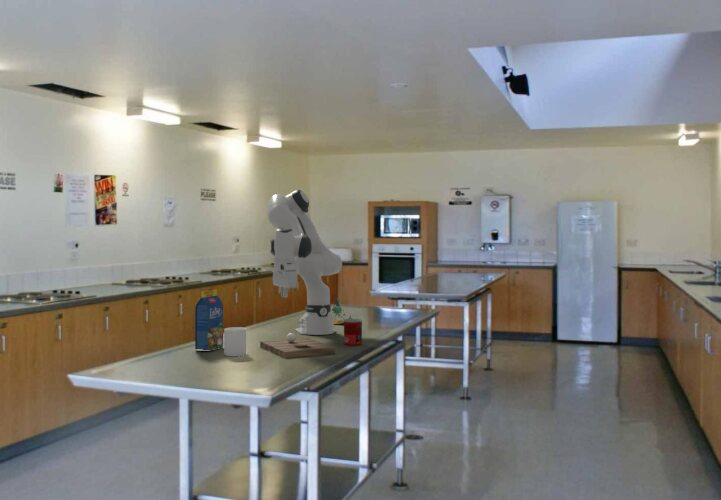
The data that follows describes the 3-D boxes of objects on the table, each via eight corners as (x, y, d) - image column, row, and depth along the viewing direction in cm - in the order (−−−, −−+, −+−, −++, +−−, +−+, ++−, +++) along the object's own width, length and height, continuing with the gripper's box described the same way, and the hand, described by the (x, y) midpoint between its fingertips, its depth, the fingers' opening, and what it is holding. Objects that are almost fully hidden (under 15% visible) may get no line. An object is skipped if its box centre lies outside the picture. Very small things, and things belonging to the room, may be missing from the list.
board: (260, 347, 300) (260, 341, 299) (307, 343, 310) (307, 338, 310) (284, 358, 275) (284, 351, 275) (334, 353, 285) (334, 347, 285)
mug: (253, 352, 287) (253, 326, 286) (239, 357, 275) (239, 330, 275) (235, 351, 290) (235, 325, 289) (220, 356, 278) (220, 329, 278)
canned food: (359, 346, 303) (360, 321, 303) (342, 345, 305) (342, 320, 305) (363, 343, 311) (363, 318, 310) (345, 342, 312) (346, 318, 312)
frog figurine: (353, 326, 368) (350, 298, 368) (320, 328, 373) (317, 300, 372) (357, 323, 377) (354, 296, 377) (326, 325, 382) (323, 298, 382)
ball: (285, 342, 298) (285, 332, 298) (293, 341, 300) (293, 332, 300) (288, 343, 295) (288, 334, 295) (297, 342, 297) (297, 333, 297)
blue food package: (194, 351, 289) (194, 291, 288) (210, 346, 300) (210, 288, 299) (207, 352, 287) (207, 291, 286) (223, 347, 298) (223, 289, 297)
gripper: (269, 264, 311) (269, 295, 312) (286, 266, 293) (286, 299, 294) (282, 264, 314) (282, 294, 315) (299, 266, 296) (299, 299, 297)
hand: (284, 297), depth 304 cm, fingers closed
